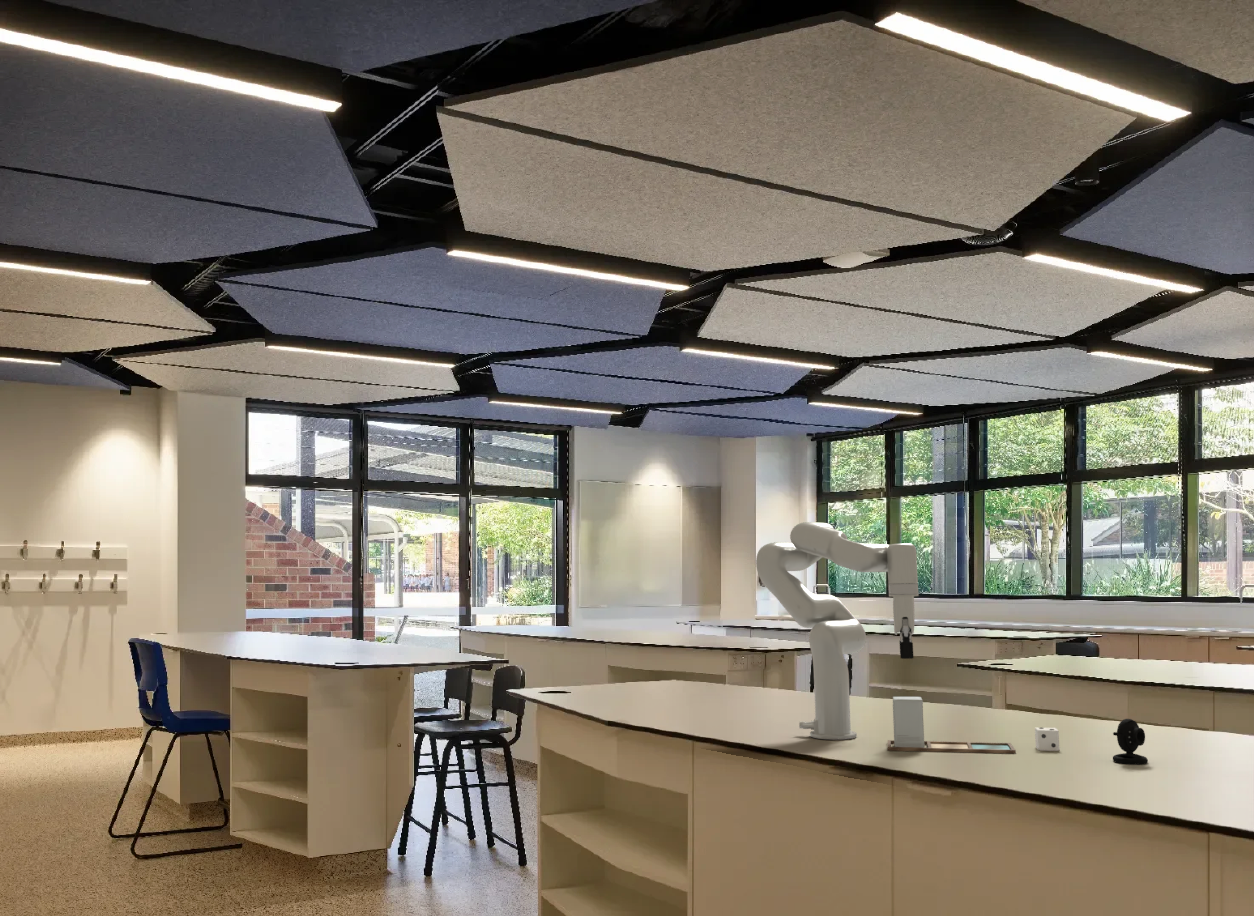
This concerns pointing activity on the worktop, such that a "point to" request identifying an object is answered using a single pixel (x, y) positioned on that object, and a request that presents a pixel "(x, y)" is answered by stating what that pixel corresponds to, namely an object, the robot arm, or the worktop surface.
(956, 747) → the board
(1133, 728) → the webcam
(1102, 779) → the worktop surface
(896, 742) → the supplement box
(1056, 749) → the die
